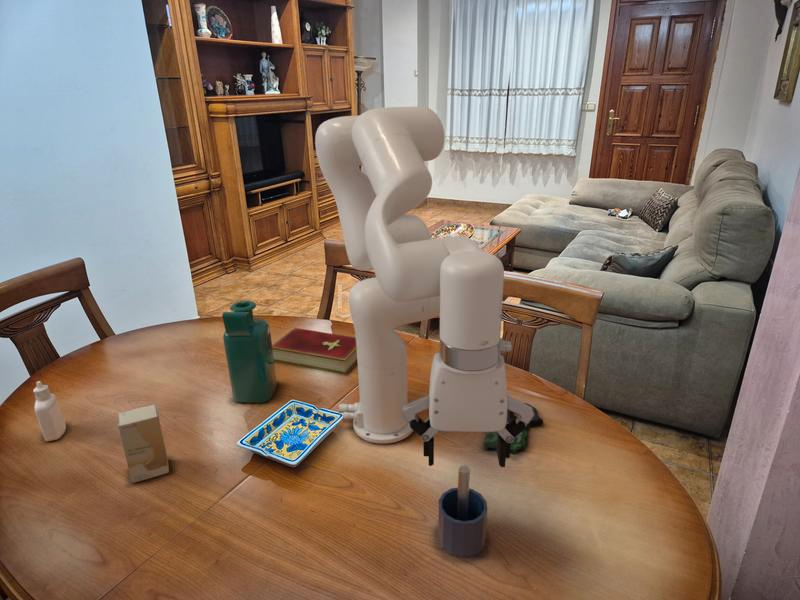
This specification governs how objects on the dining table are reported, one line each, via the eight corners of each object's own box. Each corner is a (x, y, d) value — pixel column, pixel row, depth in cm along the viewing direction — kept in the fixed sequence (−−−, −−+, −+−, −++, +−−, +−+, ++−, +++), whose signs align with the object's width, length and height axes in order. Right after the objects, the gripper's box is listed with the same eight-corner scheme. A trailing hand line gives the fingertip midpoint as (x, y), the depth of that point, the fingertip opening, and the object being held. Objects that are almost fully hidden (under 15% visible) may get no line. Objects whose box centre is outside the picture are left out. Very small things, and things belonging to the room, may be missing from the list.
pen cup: (438, 559, 74) (439, 523, 71) (437, 520, 81) (438, 486, 78) (487, 561, 74) (489, 524, 71) (482, 522, 80) (484, 487, 77)
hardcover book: (295, 340, 139) (294, 326, 137) (366, 351, 132) (365, 337, 131) (271, 360, 129) (269, 346, 127) (346, 374, 122) (345, 359, 120)
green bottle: (243, 382, 119) (229, 295, 111) (279, 383, 119) (268, 295, 110) (228, 407, 110) (212, 314, 102) (267, 407, 110) (254, 314, 101)
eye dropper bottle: (75, 425, 105) (59, 375, 100) (54, 443, 100) (36, 391, 95) (57, 423, 106) (40, 373, 101) (35, 440, 101) (16, 388, 96)
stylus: (456, 541, 76) (458, 472, 71) (455, 533, 78) (458, 465, 73) (467, 542, 76) (470, 473, 71) (466, 533, 78) (469, 465, 73)
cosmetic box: (131, 484, 89) (115, 426, 84) (131, 469, 93) (115, 413, 88) (171, 472, 92) (158, 415, 87) (169, 458, 95) (156, 402, 91)
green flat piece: (536, 455, 92) (481, 443, 95) (535, 462, 93) (481, 450, 96) (545, 406, 106) (497, 397, 109) (545, 412, 107) (497, 403, 110)
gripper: (533, 337, 67) (524, 443, 74) (402, 336, 68) (404, 441, 75) (545, 365, 60) (534, 480, 67) (399, 364, 61) (402, 477, 68)
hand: (465, 459), depth 71 cm, fingers open, 9 cm apart
